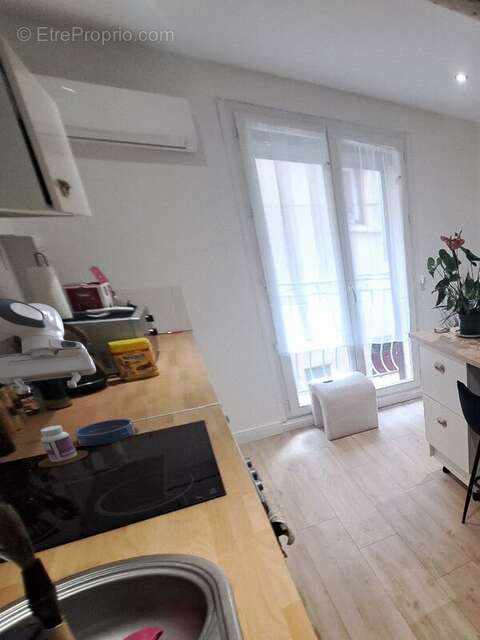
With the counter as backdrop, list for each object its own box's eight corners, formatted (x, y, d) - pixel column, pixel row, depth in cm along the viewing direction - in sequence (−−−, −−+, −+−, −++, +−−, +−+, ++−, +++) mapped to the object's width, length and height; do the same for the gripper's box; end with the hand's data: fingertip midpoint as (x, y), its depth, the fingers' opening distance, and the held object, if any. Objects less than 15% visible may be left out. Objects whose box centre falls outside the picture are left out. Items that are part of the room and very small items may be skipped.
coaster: (38, 472, 113) (37, 470, 112) (38, 460, 119) (37, 458, 119) (90, 459, 120) (89, 457, 119) (87, 448, 126) (87, 447, 126)
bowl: (80, 451, 124) (75, 439, 123) (78, 438, 133) (73, 427, 131) (138, 437, 134) (134, 426, 132) (133, 426, 142) (129, 415, 140)
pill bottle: (79, 452, 123) (66, 422, 119) (75, 458, 119) (63, 428, 115) (52, 457, 119) (39, 427, 116) (48, 464, 116) (34, 433, 112)
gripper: (-14, 349, 117) (-11, 390, 113) (87, 341, 129) (93, 378, 125) (-2, 361, 122) (1, 401, 118) (95, 352, 134) (100, 388, 130)
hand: (49, 389), depth 122 cm, fingers open, 8 cm apart
